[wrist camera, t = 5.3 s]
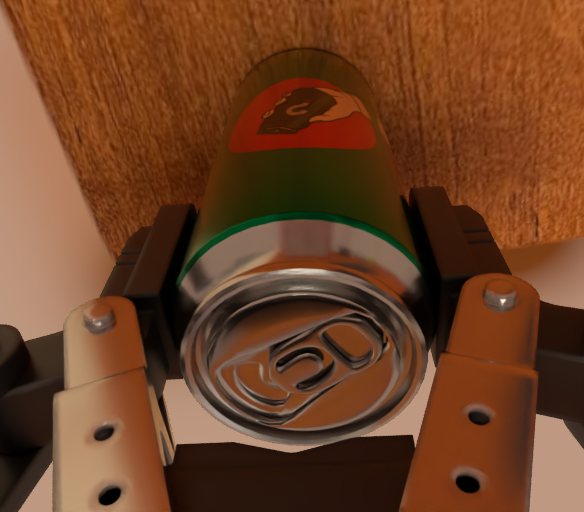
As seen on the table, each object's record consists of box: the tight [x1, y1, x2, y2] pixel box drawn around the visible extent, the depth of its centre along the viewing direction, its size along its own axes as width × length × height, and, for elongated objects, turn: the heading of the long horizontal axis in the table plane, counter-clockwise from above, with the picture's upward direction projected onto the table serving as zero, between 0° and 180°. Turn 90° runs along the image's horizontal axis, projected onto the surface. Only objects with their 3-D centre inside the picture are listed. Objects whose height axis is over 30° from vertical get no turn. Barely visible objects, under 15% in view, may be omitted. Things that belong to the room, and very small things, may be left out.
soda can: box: [170, 49, 438, 446], centre depth 15 cm, size 5×5×12 cm
